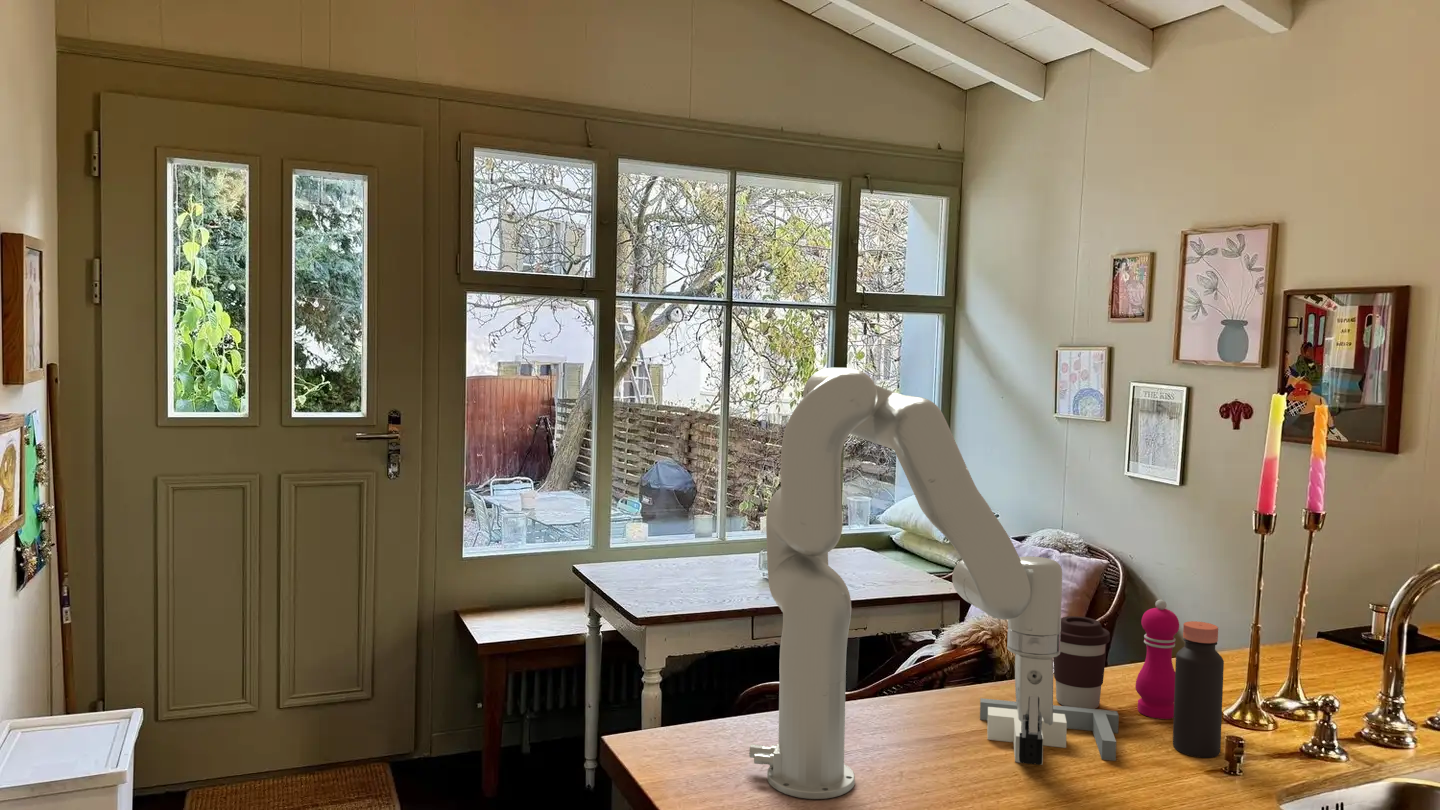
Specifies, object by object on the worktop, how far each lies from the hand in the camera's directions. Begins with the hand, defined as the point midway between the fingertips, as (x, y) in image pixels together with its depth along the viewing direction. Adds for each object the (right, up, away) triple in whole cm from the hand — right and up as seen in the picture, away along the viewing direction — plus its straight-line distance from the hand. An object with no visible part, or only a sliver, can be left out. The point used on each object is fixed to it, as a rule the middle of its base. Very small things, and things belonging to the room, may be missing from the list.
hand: (1030, 761), depth 147 cm
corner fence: (+7, -1, +13) cm, 15 cm away
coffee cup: (+18, 0, +28) cm, 33 cm away
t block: (+2, -1, +8) cm, 8 cm away
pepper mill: (+30, -1, +24) cm, 39 cm away
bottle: (+29, -1, +8) cm, 30 cm away
